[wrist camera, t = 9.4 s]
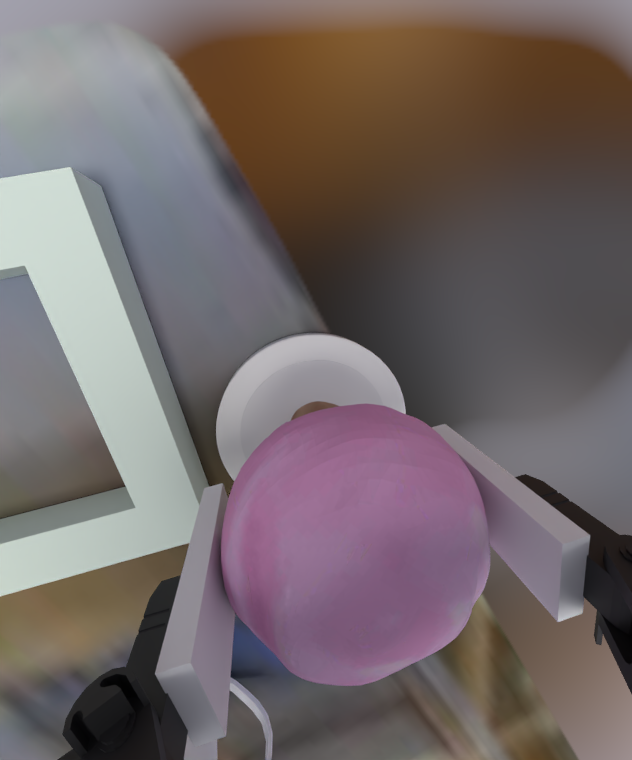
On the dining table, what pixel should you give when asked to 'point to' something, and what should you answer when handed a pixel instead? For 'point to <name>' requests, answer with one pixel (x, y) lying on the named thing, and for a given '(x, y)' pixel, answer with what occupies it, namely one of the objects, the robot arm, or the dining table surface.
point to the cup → (206, 754)
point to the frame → (97, 386)
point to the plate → (297, 389)
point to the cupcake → (354, 543)
